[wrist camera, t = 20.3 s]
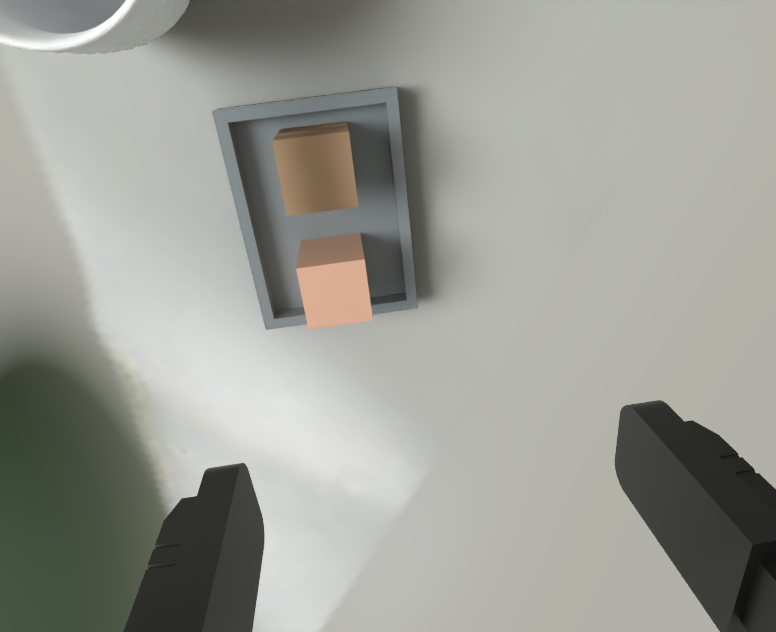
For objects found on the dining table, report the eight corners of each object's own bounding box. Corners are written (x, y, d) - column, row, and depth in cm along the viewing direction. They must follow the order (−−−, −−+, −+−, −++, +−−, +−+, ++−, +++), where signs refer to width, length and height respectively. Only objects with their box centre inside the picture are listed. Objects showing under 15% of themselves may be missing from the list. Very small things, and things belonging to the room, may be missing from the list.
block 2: (311, 294, 41) (308, 329, 36) (300, 240, 39) (296, 268, 34) (367, 286, 41) (372, 320, 36) (360, 232, 39) (364, 259, 34)
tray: (218, 108, 35) (212, 111, 33) (393, 86, 35) (397, 87, 34) (268, 318, 42) (265, 329, 40) (414, 297, 43) (417, 308, 41)
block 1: (292, 194, 37) (286, 216, 32) (280, 128, 35) (271, 140, 30) (354, 186, 38) (358, 207, 32) (346, 121, 36) (348, 131, 30)
